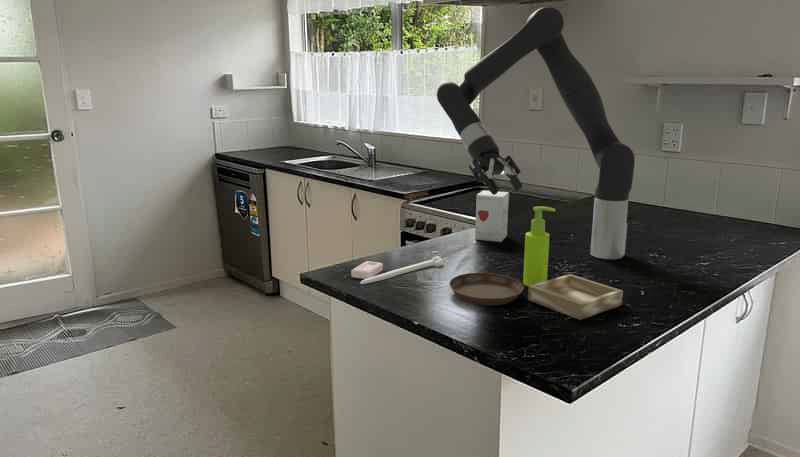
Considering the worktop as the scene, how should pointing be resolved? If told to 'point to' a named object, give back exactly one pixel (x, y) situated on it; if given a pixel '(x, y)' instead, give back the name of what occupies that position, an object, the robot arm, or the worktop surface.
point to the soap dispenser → (536, 249)
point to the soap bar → (367, 270)
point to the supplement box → (491, 216)
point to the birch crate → (575, 296)
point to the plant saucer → (486, 288)
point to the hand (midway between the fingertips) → (508, 191)
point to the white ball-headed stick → (405, 270)
